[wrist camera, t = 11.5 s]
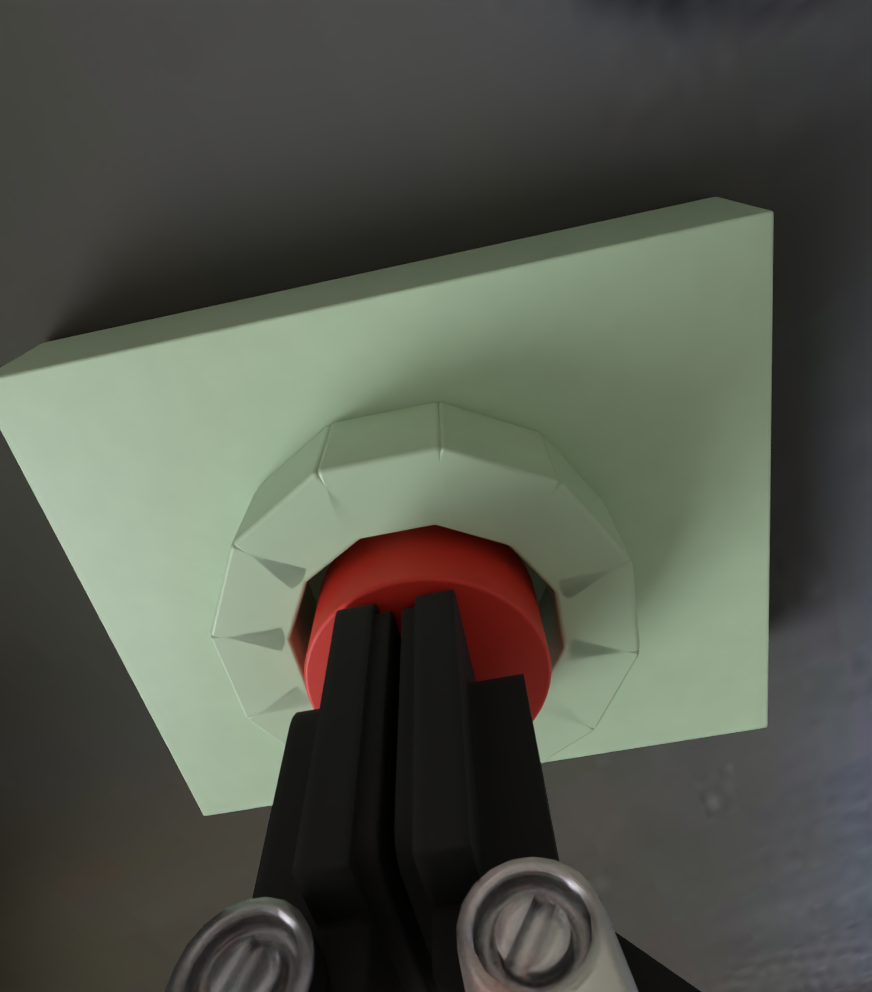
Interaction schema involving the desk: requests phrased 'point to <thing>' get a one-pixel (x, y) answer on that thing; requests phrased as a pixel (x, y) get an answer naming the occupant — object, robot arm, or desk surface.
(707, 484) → the block
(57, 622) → the desk surface
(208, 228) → the desk surface
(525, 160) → the desk surface
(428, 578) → the button
